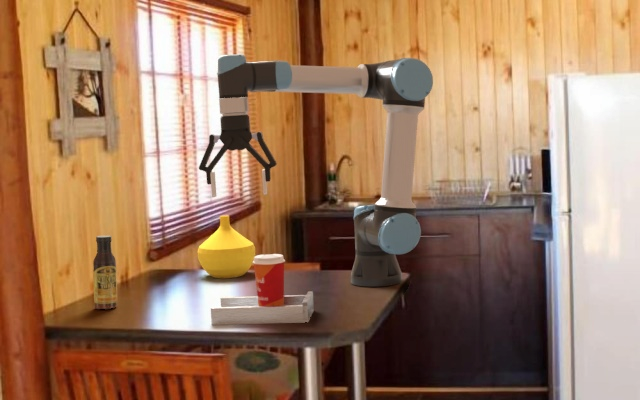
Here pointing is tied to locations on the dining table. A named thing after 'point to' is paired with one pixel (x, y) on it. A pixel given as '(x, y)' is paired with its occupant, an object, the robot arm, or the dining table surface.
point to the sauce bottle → (104, 275)
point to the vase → (226, 252)
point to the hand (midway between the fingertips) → (239, 195)
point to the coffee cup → (269, 279)
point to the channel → (263, 310)
